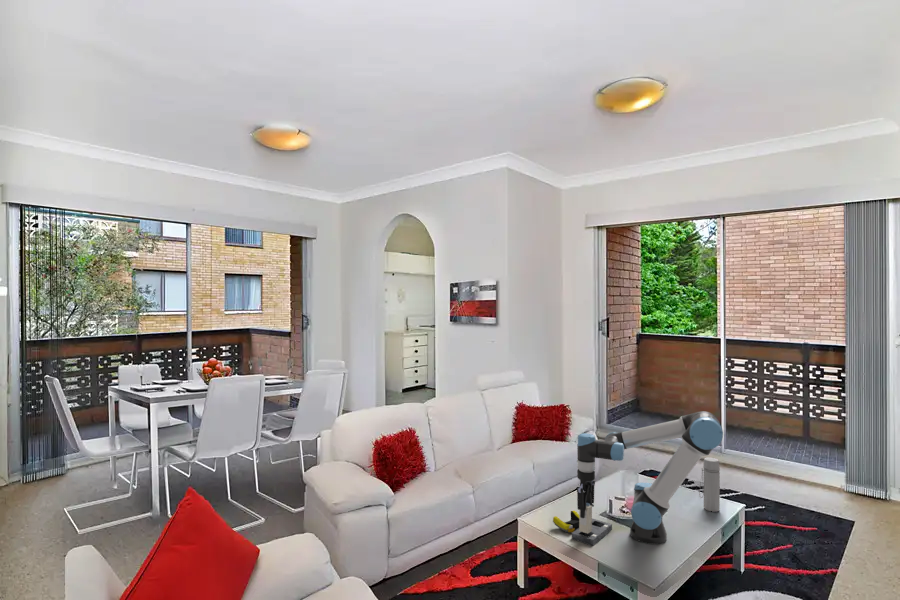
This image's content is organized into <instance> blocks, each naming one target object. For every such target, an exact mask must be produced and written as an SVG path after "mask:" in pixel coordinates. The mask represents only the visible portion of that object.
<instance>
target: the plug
mask: <svg viewBox="0 0 900 600" xmlns="http://www.w3.org/2000/svg"><path fill="white" fill-rule="evenodd" d="M586 510H587V525H586V526H585V525H582V524H580V510H579V511H578V512H579V513H578V514H579V531H581V532H584V533H587V534H588V533H589V532H591V531H592V519H593V507H592V506H591V505H590V503H586Z"/></svg>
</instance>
